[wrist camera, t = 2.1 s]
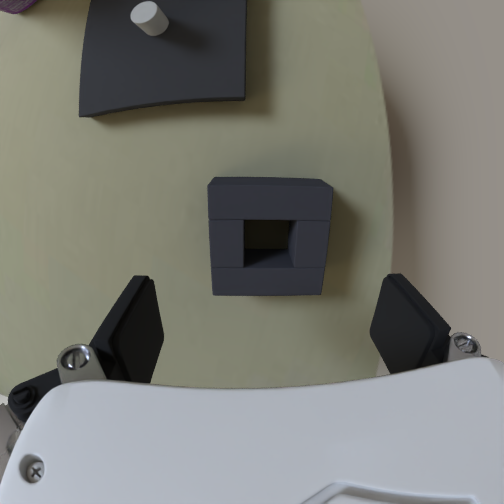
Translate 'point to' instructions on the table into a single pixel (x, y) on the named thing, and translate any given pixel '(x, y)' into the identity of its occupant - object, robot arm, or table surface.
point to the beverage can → (15, 5)
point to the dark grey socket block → (268, 260)
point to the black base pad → (162, 54)
